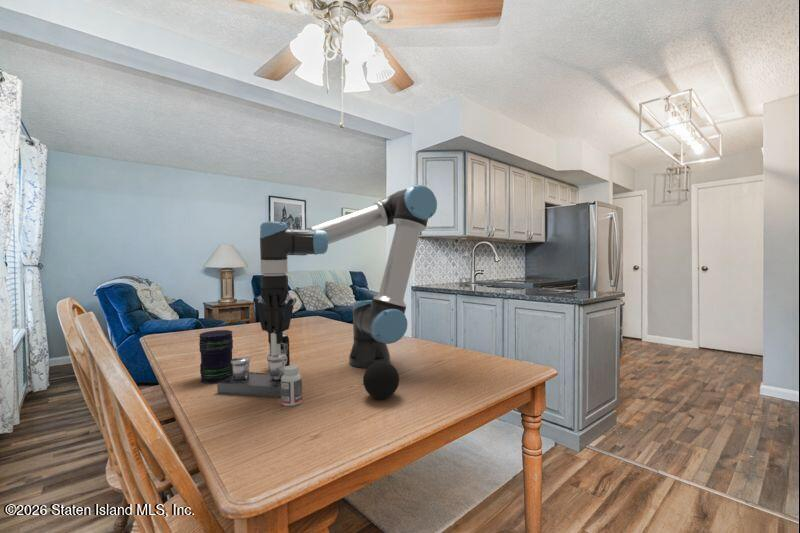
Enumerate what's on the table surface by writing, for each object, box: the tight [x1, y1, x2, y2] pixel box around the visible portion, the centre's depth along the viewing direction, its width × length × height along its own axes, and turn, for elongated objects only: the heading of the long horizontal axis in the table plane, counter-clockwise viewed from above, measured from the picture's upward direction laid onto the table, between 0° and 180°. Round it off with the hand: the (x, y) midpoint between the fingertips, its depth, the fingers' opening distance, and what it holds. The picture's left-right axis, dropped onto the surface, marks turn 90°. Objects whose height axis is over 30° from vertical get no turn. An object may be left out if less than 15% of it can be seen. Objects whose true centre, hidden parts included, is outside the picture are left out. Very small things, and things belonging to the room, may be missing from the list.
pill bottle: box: [281, 364, 303, 407], centre depth 102 cm, size 5×5×10 cm
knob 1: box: [231, 356, 251, 380], centre depth 114 cm, size 5×5×9 cm
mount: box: [216, 371, 284, 399], centre depth 113 cm, size 20×11×3 cm, turn 78°
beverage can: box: [269, 332, 291, 366], centre depth 132 cm, size 7×7×12 cm
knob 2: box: [266, 353, 286, 382], centre depth 112 cm, size 5×5×9 cm
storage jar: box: [198, 329, 234, 384], centre depth 123 cm, size 10×10×15 cm
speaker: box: [362, 361, 400, 400], centre depth 105 cm, size 10×10×10 cm
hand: (275, 354), depth 111 cm, fingers closed
